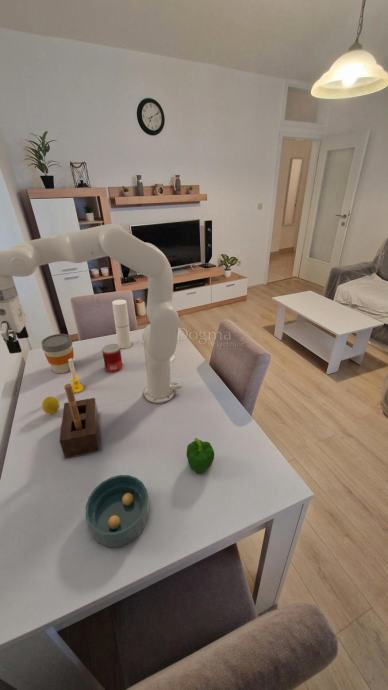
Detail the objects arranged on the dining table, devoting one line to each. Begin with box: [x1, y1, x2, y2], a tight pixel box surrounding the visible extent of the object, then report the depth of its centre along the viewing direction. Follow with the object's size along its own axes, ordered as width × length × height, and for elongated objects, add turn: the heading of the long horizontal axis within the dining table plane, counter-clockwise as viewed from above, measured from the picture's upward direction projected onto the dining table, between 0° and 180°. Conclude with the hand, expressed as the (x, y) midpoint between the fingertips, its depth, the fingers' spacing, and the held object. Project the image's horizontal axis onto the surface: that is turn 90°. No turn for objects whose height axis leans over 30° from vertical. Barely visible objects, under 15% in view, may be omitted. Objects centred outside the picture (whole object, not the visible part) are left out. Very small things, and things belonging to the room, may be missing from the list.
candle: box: [68, 358, 85, 394], centre depth 114 cm, size 5×5×16 cm
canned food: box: [101, 343, 123, 373], centre depth 129 cm, size 8×8×11 cm
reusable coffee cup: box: [41, 333, 74, 374], centre depth 128 cm, size 13×13×15 cm
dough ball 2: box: [122, 493, 134, 506], centre depth 74 cm, size 3×3×3 cm
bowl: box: [85, 474, 150, 548], centre depth 71 cm, size 15×15×6 cm
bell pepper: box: [186, 437, 215, 474], centre depth 84 cm, size 8×8×10 cm
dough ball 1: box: [108, 515, 120, 530], centre depth 69 cm, size 3×3×3 cm
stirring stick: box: [64, 383, 83, 430], centre depth 87 cm, size 2×2×24 cm
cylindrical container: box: [111, 299, 132, 349], centre depth 145 cm, size 7×7×25 cm
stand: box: [59, 397, 100, 459], centre depth 94 cm, size 10×18×8 cm, turn 18°
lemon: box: [41, 395, 60, 415], centre depth 103 cm, size 6×6×8 cm
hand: (19, 344), depth 88 cm, fingers open, 9 cm apart
